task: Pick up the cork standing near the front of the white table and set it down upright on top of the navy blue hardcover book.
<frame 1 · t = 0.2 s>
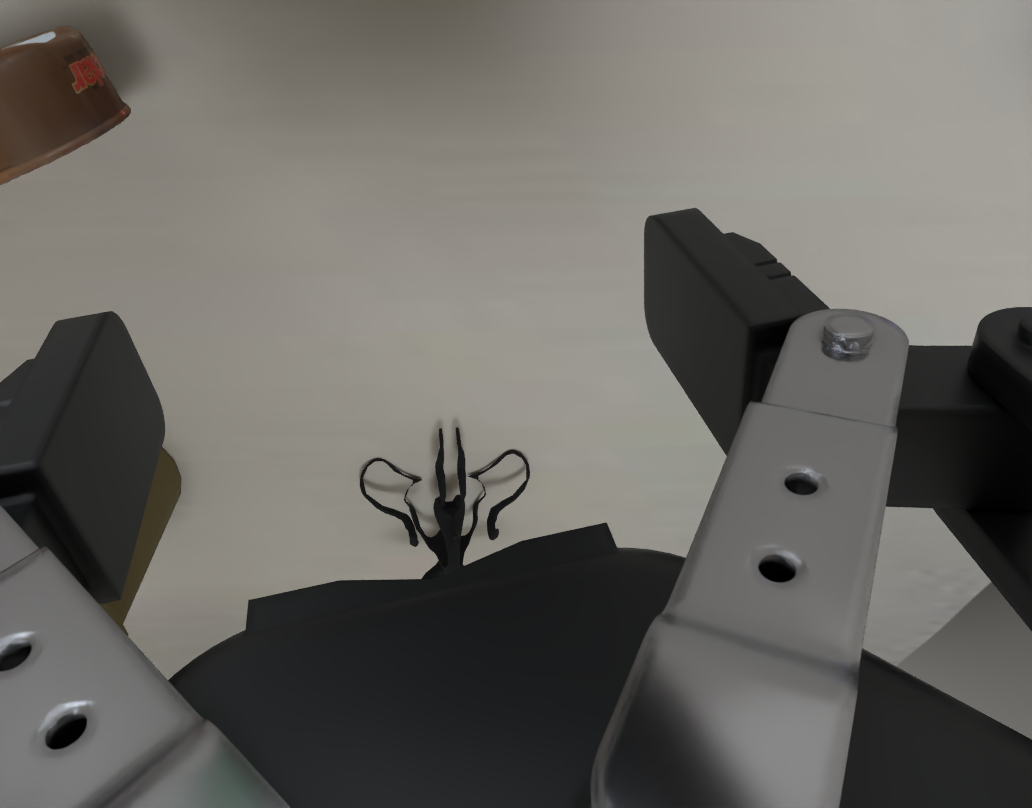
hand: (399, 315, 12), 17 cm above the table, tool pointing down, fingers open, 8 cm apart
creature: (444, 479, 37), on the table
cork: (106, 477, 33), on the table
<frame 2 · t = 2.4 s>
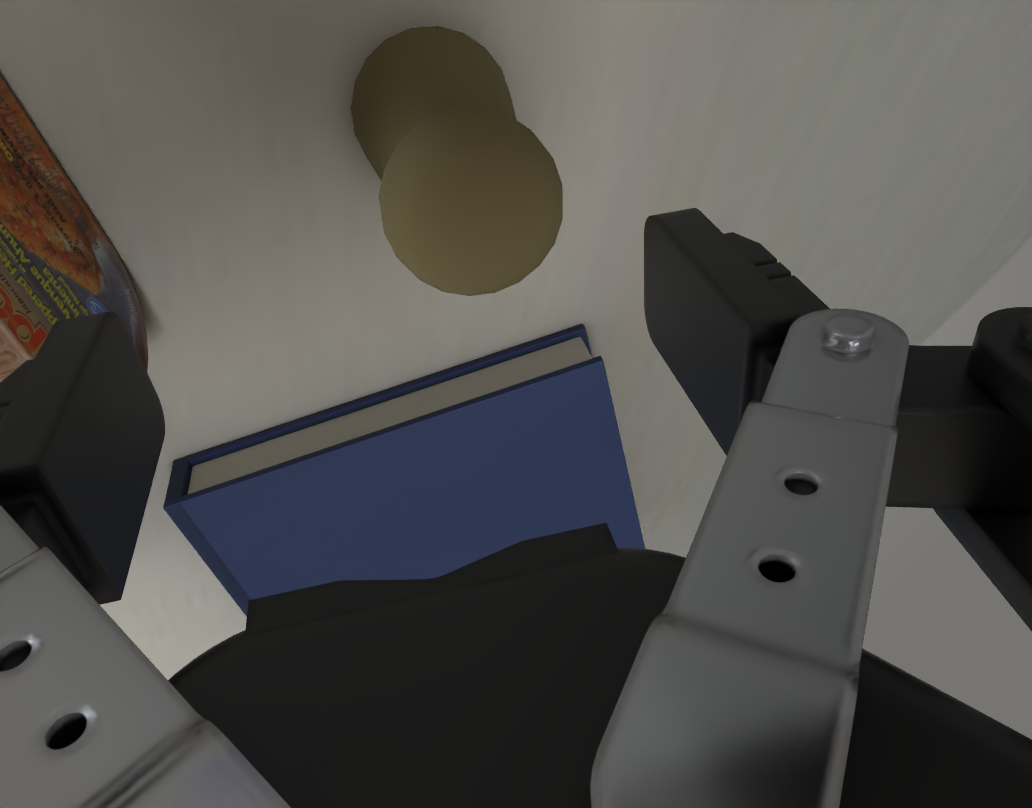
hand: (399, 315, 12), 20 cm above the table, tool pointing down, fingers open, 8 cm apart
book: (426, 495, 41), on the table
tin: (16, 169, 28), on the table
cork: (432, 111, 30), on the table
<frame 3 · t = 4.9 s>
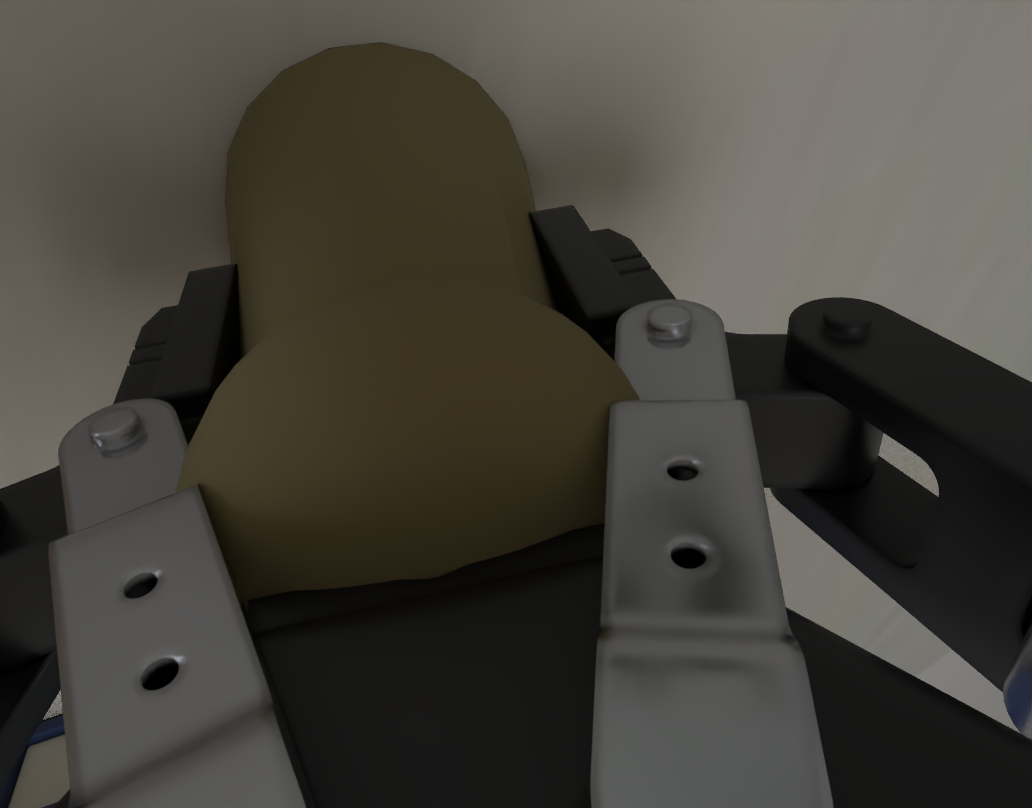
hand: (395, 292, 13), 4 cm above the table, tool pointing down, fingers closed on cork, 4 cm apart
book: (407, 741, 27), on the table
cork: (381, 199, 16), on the table, touching gripper
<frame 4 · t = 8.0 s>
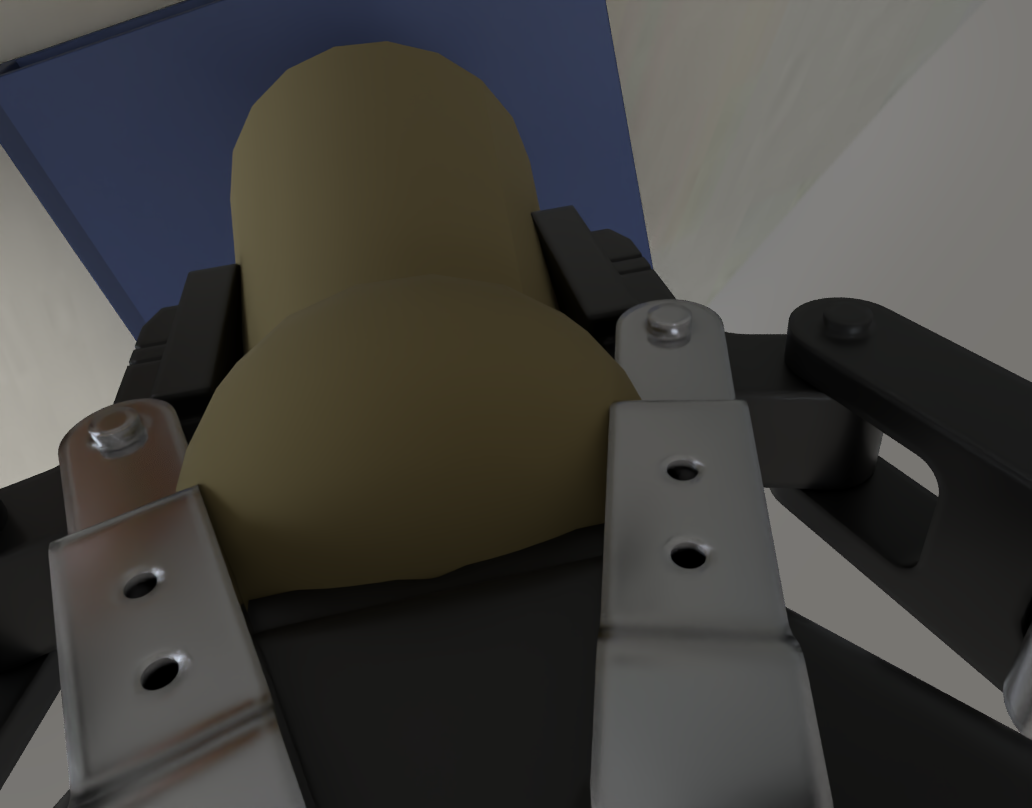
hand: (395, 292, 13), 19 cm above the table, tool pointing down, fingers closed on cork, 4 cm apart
book: (356, 163, 31), on the table
cork: (386, 198, 16), point 15 cm above the table, touching gripper
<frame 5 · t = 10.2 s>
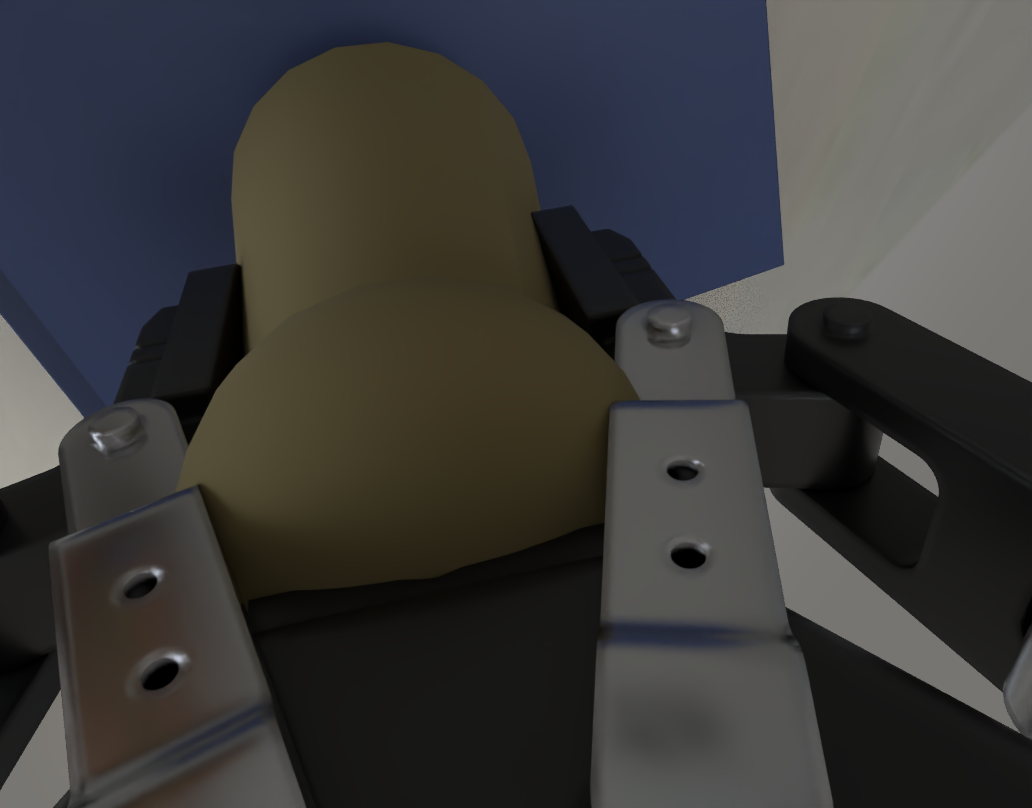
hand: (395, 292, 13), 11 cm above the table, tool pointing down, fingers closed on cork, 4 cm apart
book: (366, 115, 21), on the table
cork: (387, 199, 16), point 7 cm above the table, touching gripper
when the fingers open (7 cm above the table, at t = 11.5 s): cork stays where it is, resting on book.
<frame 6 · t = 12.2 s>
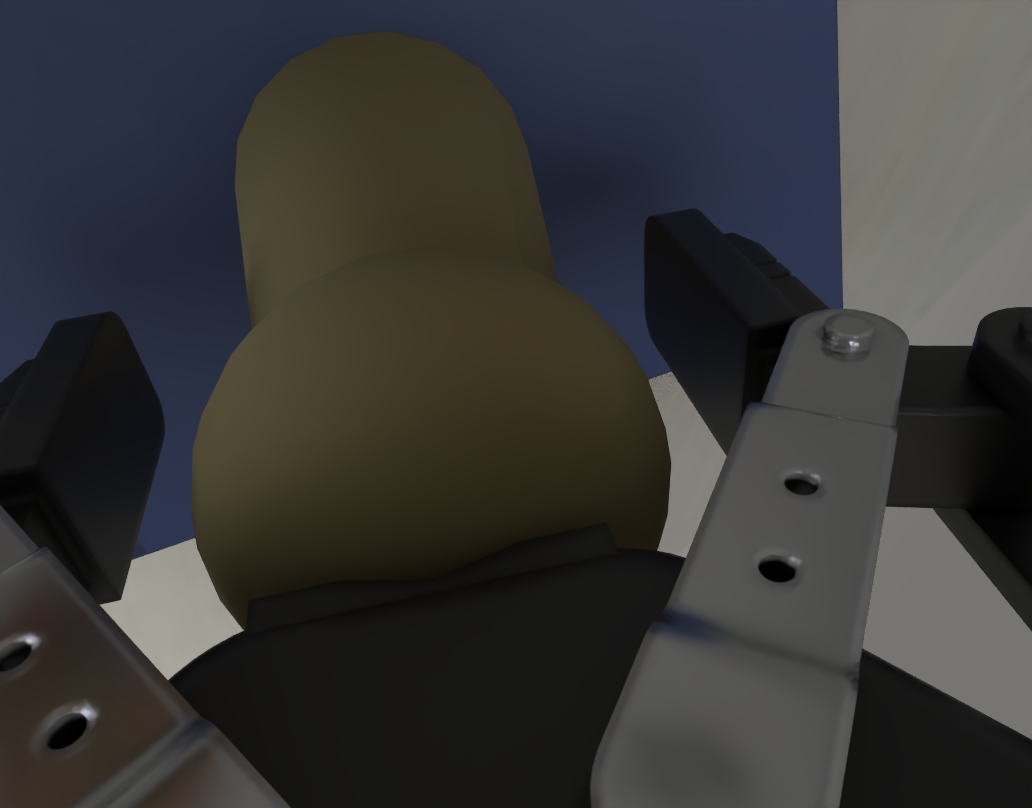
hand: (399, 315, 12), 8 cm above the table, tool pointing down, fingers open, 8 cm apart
book: (375, 146, 19), on the table
cork: (387, 186, 16), point 3 cm above the table, touching book
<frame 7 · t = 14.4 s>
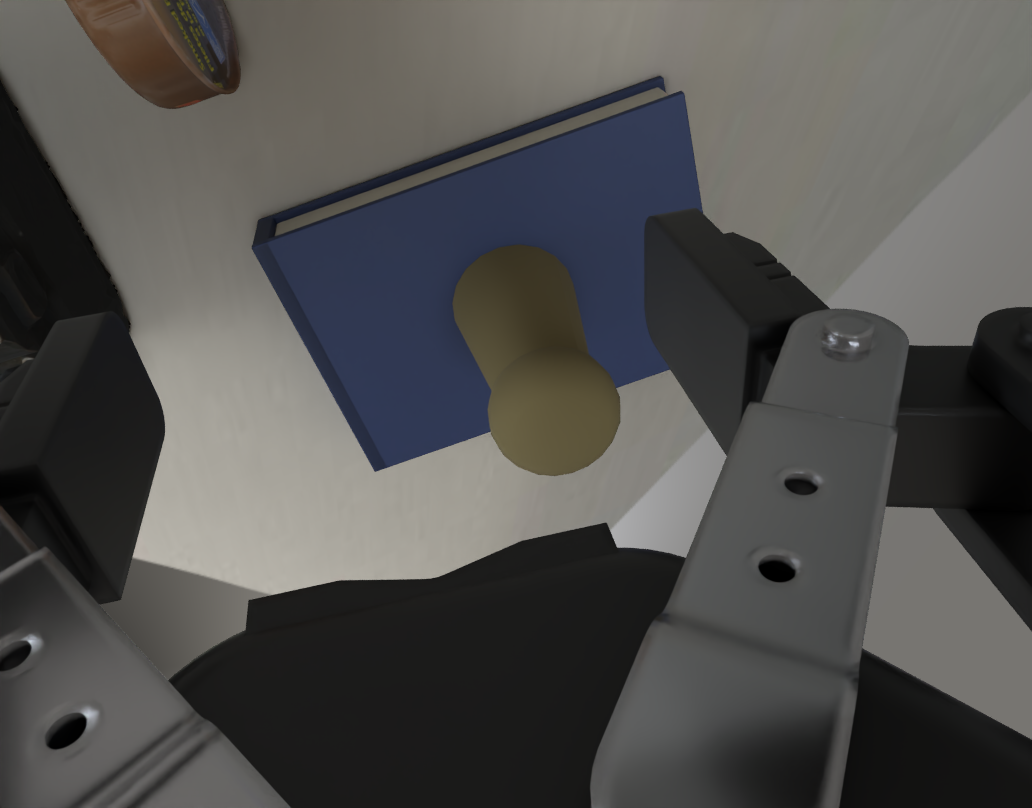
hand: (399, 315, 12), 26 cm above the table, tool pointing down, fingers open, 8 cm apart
book: (501, 275, 41), on the table
cork: (513, 300, 38), point 3 cm above the table, touching book
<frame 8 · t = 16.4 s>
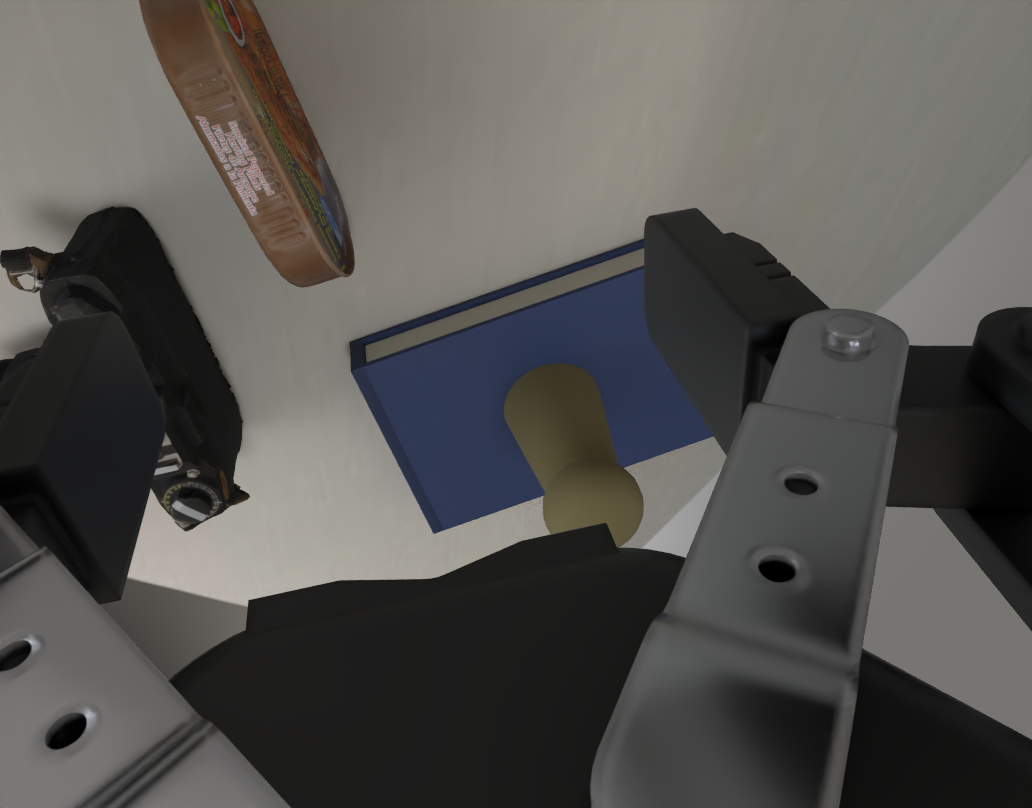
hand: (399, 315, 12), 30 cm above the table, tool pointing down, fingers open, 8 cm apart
film camera: (131, 352, 44), on the table
book: (538, 377, 51), on the table
tin: (265, 103, 38), on the table
cork: (551, 402, 48), point 3 cm above the table, touching book
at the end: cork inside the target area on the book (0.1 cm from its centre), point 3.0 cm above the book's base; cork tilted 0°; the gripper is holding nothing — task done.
